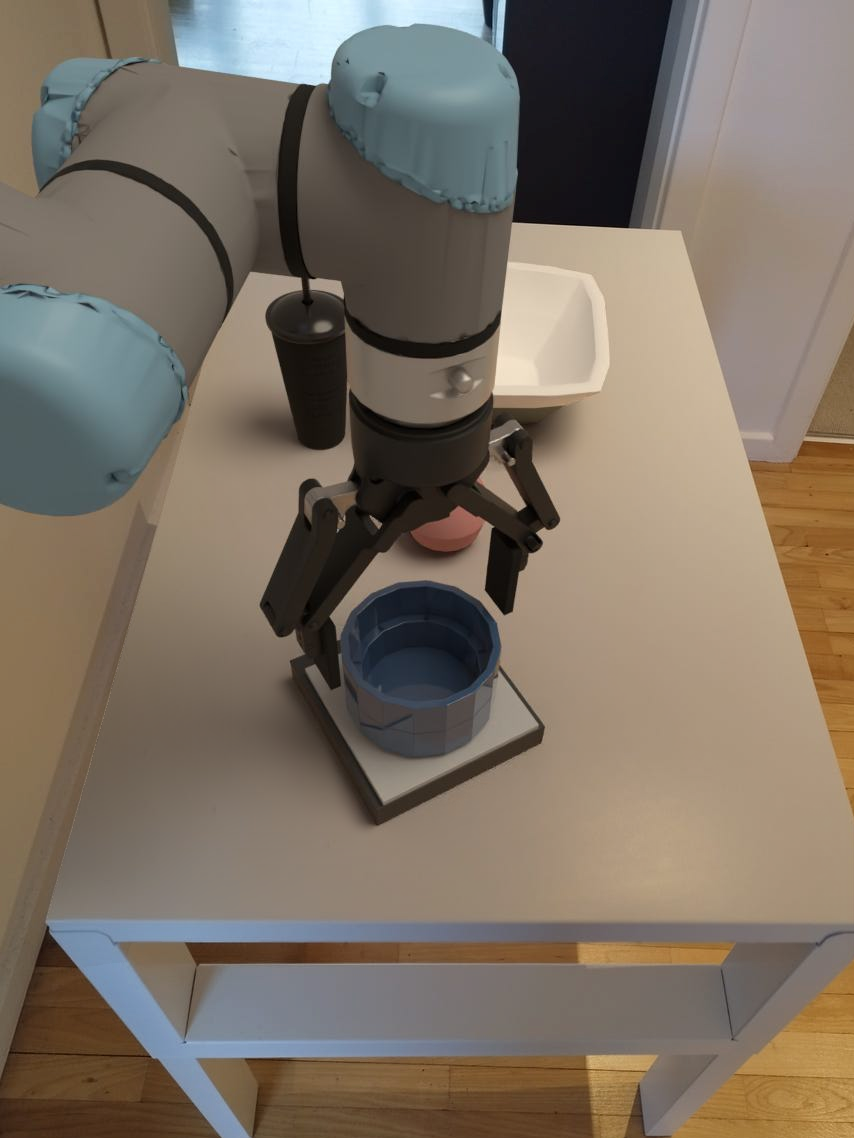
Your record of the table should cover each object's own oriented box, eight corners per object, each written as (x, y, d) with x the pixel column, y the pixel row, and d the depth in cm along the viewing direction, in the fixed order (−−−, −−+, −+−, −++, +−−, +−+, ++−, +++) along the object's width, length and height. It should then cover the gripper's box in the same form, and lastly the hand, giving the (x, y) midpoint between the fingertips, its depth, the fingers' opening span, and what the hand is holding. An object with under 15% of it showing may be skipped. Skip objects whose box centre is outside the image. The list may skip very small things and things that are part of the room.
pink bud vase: (470, 575, 81) (477, 475, 72) (390, 553, 82) (387, 451, 73) (495, 517, 86) (505, 415, 76) (419, 497, 87) (419, 394, 77)
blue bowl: (322, 672, 70) (314, 616, 65) (447, 618, 74) (450, 560, 69) (389, 784, 65) (387, 733, 59) (521, 720, 69) (530, 666, 63)
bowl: (590, 334, 104) (602, 266, 98) (600, 470, 91) (614, 401, 84) (398, 321, 104) (396, 252, 97) (378, 456, 90) (375, 386, 83)
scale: (292, 677, 74) (288, 655, 71) (447, 611, 79) (448, 589, 76) (377, 826, 66) (376, 807, 64) (542, 742, 71) (546, 722, 69)
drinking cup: (340, 467, 89) (324, 279, 73) (269, 447, 90) (238, 258, 74) (371, 420, 93) (362, 233, 77) (303, 402, 94) (280, 214, 78)
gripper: (216, 511, 40) (270, 751, 57) (656, 362, 49) (591, 608, 66) (158, 412, 44) (225, 665, 61) (578, 290, 53) (535, 541, 70)
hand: (416, 636), depth 64 cm, fingers open, 13 cm apart
